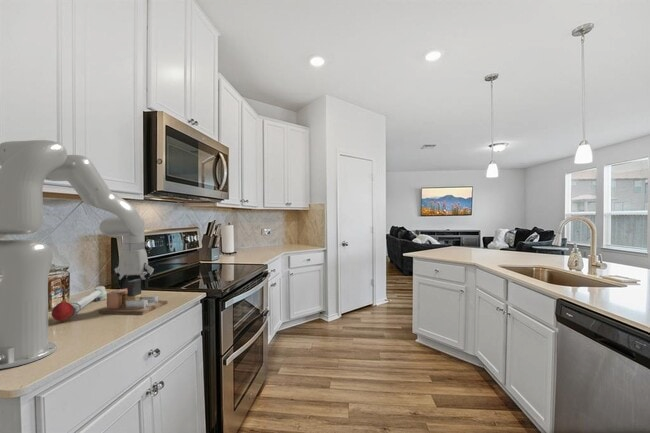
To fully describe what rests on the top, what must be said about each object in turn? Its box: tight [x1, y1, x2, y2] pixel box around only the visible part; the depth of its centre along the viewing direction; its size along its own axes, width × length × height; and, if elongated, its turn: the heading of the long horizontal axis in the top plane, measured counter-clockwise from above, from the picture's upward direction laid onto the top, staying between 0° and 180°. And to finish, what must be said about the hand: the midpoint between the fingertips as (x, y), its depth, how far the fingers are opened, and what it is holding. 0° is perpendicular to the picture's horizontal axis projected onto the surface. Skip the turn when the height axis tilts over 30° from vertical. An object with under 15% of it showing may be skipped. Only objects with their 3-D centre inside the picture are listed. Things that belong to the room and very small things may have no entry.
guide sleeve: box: [126, 294, 159, 309], centre depth 113 cm, size 8×8×3 cm
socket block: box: [106, 288, 127, 308], centre depth 114 cm, size 8×5×6 cm, turn 173°
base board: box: [98, 299, 168, 315], centre depth 114 cm, size 14×19×1 cm
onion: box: [51, 299, 74, 323], centre depth 99 cm, size 6×6×8 cm
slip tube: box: [122, 278, 142, 303], centre depth 114 cm, size 4×9×9 cm, turn 83°
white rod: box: [69, 285, 109, 316], centre depth 118 cm, size 5×7×25 cm
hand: (134, 288), depth 114 cm, fingers open, 8 cm apart
